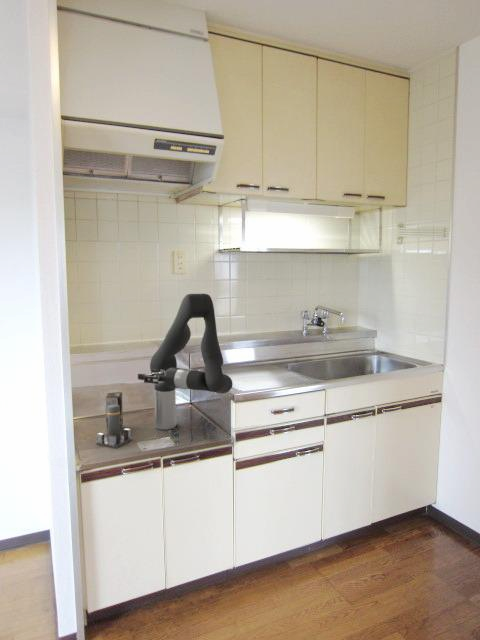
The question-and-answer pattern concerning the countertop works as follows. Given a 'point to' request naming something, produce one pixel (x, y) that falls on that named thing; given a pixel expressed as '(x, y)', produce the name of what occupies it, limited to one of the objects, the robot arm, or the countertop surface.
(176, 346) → the robot arm
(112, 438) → the bracket
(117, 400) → the coffee box
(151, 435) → the countertop surface
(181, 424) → the countertop surface
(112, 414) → the tube
